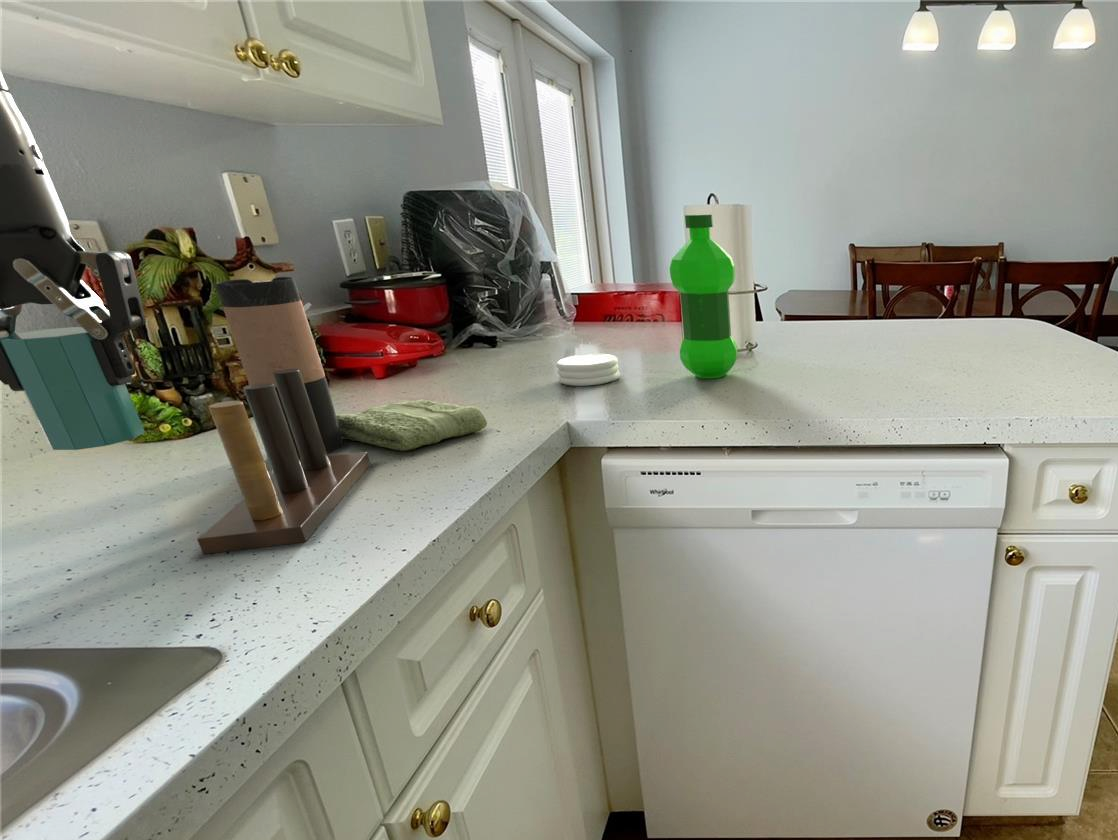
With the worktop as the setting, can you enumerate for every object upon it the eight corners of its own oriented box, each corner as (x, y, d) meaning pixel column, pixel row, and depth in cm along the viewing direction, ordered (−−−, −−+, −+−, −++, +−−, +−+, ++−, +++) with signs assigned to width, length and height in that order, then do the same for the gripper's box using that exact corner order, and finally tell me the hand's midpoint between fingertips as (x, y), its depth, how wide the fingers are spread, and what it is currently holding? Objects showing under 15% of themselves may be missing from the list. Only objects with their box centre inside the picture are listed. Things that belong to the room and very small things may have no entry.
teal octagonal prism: (32, 453, 58) (-24, 341, 54) (79, 432, 64) (32, 328, 60) (119, 446, 59) (70, 336, 56) (158, 426, 65) (116, 324, 61)
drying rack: (203, 554, 62) (145, 420, 57) (294, 471, 81) (257, 366, 76) (306, 542, 64) (259, 411, 59) (371, 463, 83) (340, 360, 78)
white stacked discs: (587, 371, 126) (584, 351, 125) (632, 375, 122) (629, 355, 121) (546, 383, 118) (542, 362, 117) (592, 389, 114) (589, 367, 113)
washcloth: (421, 412, 103) (415, 390, 102) (496, 430, 94) (491, 406, 93) (326, 436, 93) (319, 412, 92) (400, 458, 85) (393, 432, 83)
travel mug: (305, 461, 84) (245, 284, 76) (259, 456, 87) (196, 283, 78) (360, 442, 91) (310, 277, 82) (316, 437, 93) (263, 276, 85)
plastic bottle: (695, 367, 127) (682, 214, 116) (750, 370, 124) (742, 213, 113) (669, 380, 119) (652, 216, 108) (727, 383, 115) (716, 215, 105)
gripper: (-202, 158, 47) (-68, 404, 55) (58, 158, 51) (152, 390, 58) (-107, 163, 54) (2, 383, 61) (118, 163, 57) (196, 371, 65)
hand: (75, 385), depth 60 cm, fingers closed on teal octagonal prism, 6 cm apart
